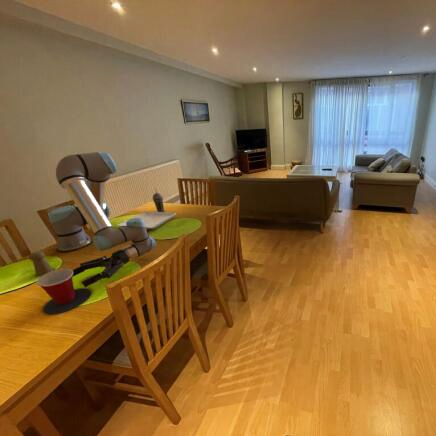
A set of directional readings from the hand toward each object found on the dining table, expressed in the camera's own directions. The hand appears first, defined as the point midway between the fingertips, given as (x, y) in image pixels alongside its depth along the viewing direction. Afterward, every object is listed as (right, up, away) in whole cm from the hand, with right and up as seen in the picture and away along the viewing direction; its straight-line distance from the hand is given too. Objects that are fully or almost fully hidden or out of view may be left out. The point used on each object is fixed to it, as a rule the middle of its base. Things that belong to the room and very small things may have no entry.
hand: (74, 280), depth 100 cm
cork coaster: (-3, -3, +12) cm, 12 cm away
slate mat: (-1, -8, -1) cm, 8 cm away
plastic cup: (-2, -8, -1) cm, 8 cm away
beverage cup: (-15, +31, +94) cm, 100 cm away
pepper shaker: (-31, -1, +18) cm, 36 cm away
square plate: (-12, +22, +73) cm, 77 cm away
